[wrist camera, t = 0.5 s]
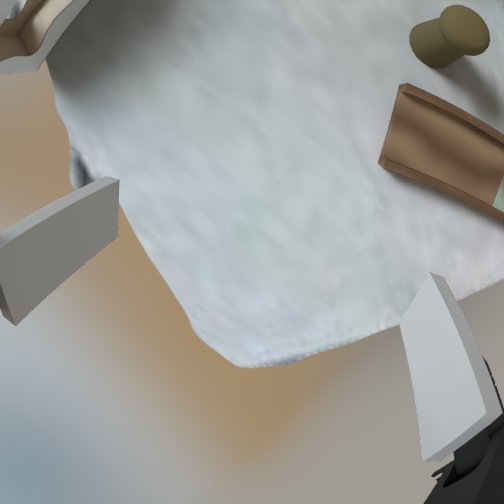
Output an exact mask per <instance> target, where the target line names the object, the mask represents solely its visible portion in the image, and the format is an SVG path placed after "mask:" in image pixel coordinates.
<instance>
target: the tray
mask: <svg viewBox="0 0 504 504" xmlns="http://www.w3.org/2000/svg"><path fill="white" fill-rule="evenodd" d="M378 163H379V164H380V165H381V166H382V167H383V168H385V169H387V170H390V171H393V172H396V173H398V174H401V175H403V176H406V177H408V178H411V179H413V180H416V181H418V182H421V183H423V184H426V185H428V186H430V187H433V188H435V189H437V190H440V191H442V192H444V193H446V194H449V195H451V196H453V197H455V198H457V199H459V200H461V201H464V202H466V203H468V204H470V205H472V206H474V207H476V208H478V209H480V210H482V211H484V212H486V213H488V214H490V215H492V216H493V217H495V218H497V219H499V220H501V221H503V222H504V135H503V134H502V133H500V132H499V131H497V130H495V129H494V128H492V127H491V126H489V125H488V124H486V123H484V122H483V121H481V120H479V119H478V118H476V117H474V116H473V115H471V114H469V113H467V112H466V111H464V110H462V109H460V108H458V107H456V106H455V105H453V104H451V103H449V102H447V101H445V100H443V99H441V98H439V97H437V96H435V95H433V94H430V93H428V92H426V91H424V90H422V89H420V88H417V87H415V86H413V85H410V84H408V83H405V84H402V85H399V89H398V93H397V97H396V101H395V105H394V109H393V112H392V116H391V120H390V123H389V127H388V131H387V134H386V138H385V141H384V144H383V148H382V151H381V154H380V158H379V161H378Z"/></svg>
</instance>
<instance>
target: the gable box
mask: <svg viewBox="0 0 504 504" xmlns="http://www.w3.org/2000/svg"><path fill="white" fill-rule="evenodd" d="M16 1H17V0H0V75H3V74H11V73H20V72H31V71H38V69H39V67H40V66H41V64H42V63H43V61H44V60H45V58H46V57H47V55H48V54H49V52H50V51H51V49H52V48H53V46H54V45H55V44H56V42H57V41H58V39H59V38H60V37H61V35H62V34H63V33H64V31H65V30H66V29H67V27H68V26H69V25H70V23H71V22H72V21H73V20H74V18H75V17H76V16H77V15H78V14H79V12H80V11H81V10H82V9H83V8H84V6H85V5H86V4H87V3H88V2H89V1H90V0H27V1H26V3H25V5H24V7H23V9H22V11H21V12H20V14H19V15H18V16H17V17H15V18H13V19H6V17H7V16H8V14H9V13H10V11H11V10H12V8H13V6H14V4H15V3H16Z"/></svg>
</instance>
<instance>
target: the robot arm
mask: <svg viewBox="0 0 504 504" xmlns="http://www.w3.org/2000/svg"><path fill="white" fill-rule="evenodd" d="M118 206H119V179H115V178H111V177H107V176H105V177H103V178H101V179H99V180H97V181H95V182H92V183H90V184H88V185H86V186H84V187H82V188H80V189H78V190H76V191H74V192H72V193H70V194H68V195H66V196H64V197H62V198H60V199H58V200H56V201H54V202H52V203H50V204H48V205H47V206H45V207H43V208H41V209H39V210H38V211H36V212H34V213H32V214H31V215H29V216H27V217H25V218H23V219H22V220H20V221H18V222H17V223H15V224H13V225H12V226H10V227H8V228H7V229H5V230H4V231H2V232H0V309H1V311H2V314H3V316H4V317H5V318H6V319H7V320H9V321H10V322H11V323H13V324H14V325H15V326H17V325H18V324H19V323H20V322H21V321H22V320H23V319H24V318H25V317H26V316H27V315H28V314H29V313H30V312H31V311H32V310H33V309H34V308H35V307H36V306H37V305H38V304H40V303H41V302H42V301H43V300H44V299H45V298H46V297H47V296H48V295H49V294H50V293H52V292H53V291H54V290H55V289H56V288H57V287H58V286H59V285H60V284H62V283H63V282H64V281H65V280H66V279H67V278H69V277H70V276H71V275H72V274H73V273H74V272H76V271H77V270H78V269H79V268H80V267H81V266H82V265H84V264H85V263H86V262H87V261H88V260H90V259H91V258H92V257H94V256H95V255H96V254H97V253H98V252H100V251H101V250H102V249H103V248H105V247H106V246H107V245H108V244H110V243H111V242H112V241H114V240H115V239H116V238H117V237H118ZM399 325H400V329H401V333H402V337H403V341H404V346H405V350H406V354H407V359H408V364H409V369H410V374H411V379H412V384H413V390H414V396H415V402H416V409H417V415H418V423H419V430H420V439H421V448H422V460H423V462H426V461H427V462H430V461H441V460H443V459H444V458H446V457H447V456H449V455H450V454H452V453H453V452H454V459H455V460H453V461H451V462H450V463H449V464H447V465H445V466H444V467H442V468H441V469H439V470H437V471H436V472H434V473H433V474H432V477H435V476H437V475H438V474H440V473H443V474H442V475H441V477H439V478H438V479H436V480H437V481H438V482H437V484H436V485H435V487H434V488H433V490H432V492H431V493H430V495H429V496H428V498H427V499H426V501H425V502H424V504H504V408H503V405H502V401H501V399H500V395H499V393H498V390H497V387H496V386H495V382H494V379H493V377H492V376H491V375H492V374H491V371H490V369H489V366H488V364H487V362H486V360H485V359H484V358H483V356H482V354H481V352H480V350H479V347H478V345H477V343H476V340H475V338H474V336H473V334H472V332H471V329H470V327H469V325H468V323H467V321H466V319H465V317H464V315H463V313H462V311H461V309H460V307H459V305H458V303H457V301H456V299H455V297H454V295H453V293H452V292H451V290H450V288H449V286H448V284H447V283H446V281H445V279H444V277H442V276H439V275H436V274H433V273H431V272H429V274H428V276H427V277H426V279H425V281H424V283H423V285H422V286H421V288H420V290H419V292H418V293H417V295H416V297H415V298H414V300H413V302H412V303H411V305H410V307H409V308H408V310H407V311H406V313H405V315H404V316H403V318H402V319H401V321H400V323H399Z"/></svg>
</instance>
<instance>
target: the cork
mask: <svg viewBox="0 0 504 504" xmlns="http://www.w3.org/2000/svg"><path fill="white" fill-rule="evenodd" d="M409 37H410V45H411V48H412V50H413V52H414V53H415V55H416V57H417V58H418V59H419V60H421V61H422V62H423V63H424V64H426V65H428V66H430V67H433V68H444V67H446V66H448V65H450V64H451V63H453V62H454V61H456V60H457V59H458V58H460V57H461V56H463V55H464V54H465V55H469V56H476V55H479V54H482V53H483V52H484V51H485V50H486V49H487V48H488V46H489V42H490V35H489V30H488V28H487V25H486V24H485V22H484V20H483V19H482V18H481V17H480V16H479V15H478V14H477V13H476V12H475V11H473V10H472V9H470V8H468V7H465V6H463V5H452V6H449V7H447V8H445V9H444V11H443V12H442V13H441V15H440V18H437V19H433V20H430V21H427V22H424V23H421V24H418V25H416V26H415V27H414V28H413V29H412V30H411V33H410V36H409Z"/></svg>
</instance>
